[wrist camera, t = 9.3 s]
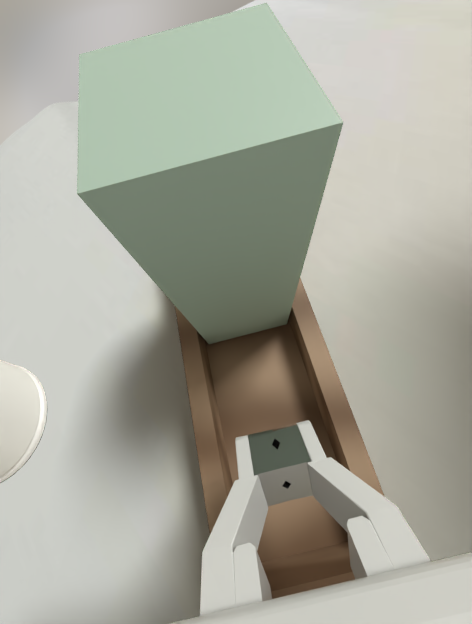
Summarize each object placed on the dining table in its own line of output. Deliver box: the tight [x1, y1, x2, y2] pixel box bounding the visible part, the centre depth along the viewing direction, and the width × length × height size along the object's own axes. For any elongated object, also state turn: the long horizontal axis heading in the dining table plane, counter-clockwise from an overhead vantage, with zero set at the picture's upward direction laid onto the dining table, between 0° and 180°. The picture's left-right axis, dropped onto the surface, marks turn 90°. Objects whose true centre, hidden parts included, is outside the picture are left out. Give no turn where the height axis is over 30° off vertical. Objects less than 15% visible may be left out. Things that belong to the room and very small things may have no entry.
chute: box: [175, 279, 385, 599], centre depth 18 cm, size 28×9×4 cm, turn 13°
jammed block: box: [77, 3, 343, 344], centre depth 13 cm, size 6×6×14 cm
